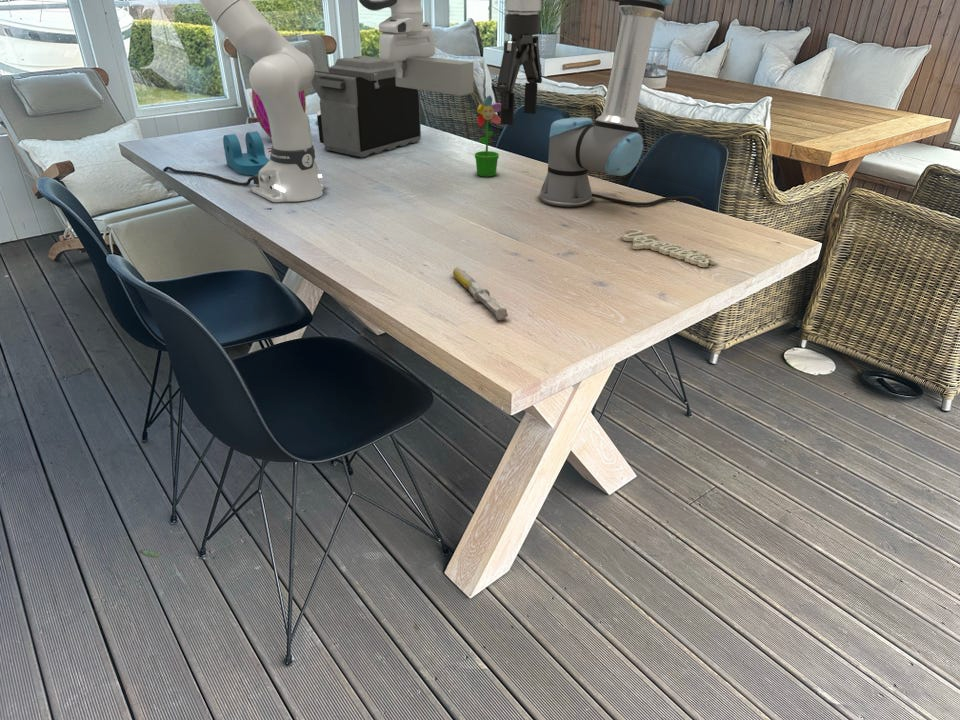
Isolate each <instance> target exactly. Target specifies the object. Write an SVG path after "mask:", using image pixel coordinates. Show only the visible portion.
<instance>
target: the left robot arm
mask: <svg viewBox="0 0 960 720" xmlns="http://www.w3.org/2000/svg"><path fill="white" fill-rule="evenodd" d="M199 2H200V3H201V6H202V7H203V8H204V10H205V12H206V13H207V14H208V16H209V17H210V19H212V21H213V22H214V23H215V25H216V26H217V27H218V28H219V30H220V31H221V32H222V33H223V35H224V36H225V38H227V39H228V41H229V42H230V43H231V44H232V45H233V47H234V48H235V49H236V51H238V52H239V53H241V54H242V55H244V56H246V57H247V58H249V59H251V60H252V61H253V62H255V63H254V64H253V65H252V67H251V68H250V70H249V74H248V76H249V77H248V78H249V79H248V80H249V83H250V86H251V89H252V88H253V90H254V91H255V93H256V94H257V95H258V96H259V97H260V98H261V101H262V103H263V105H264V108H265V110H266V113H267V116H268V120H269V125H270V131H271V137H270V138H271V143H272V147H268V148H267V150H268V151H267V153H270V157H269V160H270V161H269V162H268V163H267V164H266V165H265V166H264V167H263V168H262V169H261V170H260V171H259V174H257V175H252V176H250V177H248V178H247V181H246V182H239V181H236V180H233V179H230V178H225V177H222V176H220V175H216V174H213V173H207V172H202V171H194V170H180V169H176V168H173V167H171V166H165V167H164V168H163V170H162V171H163V172H167V171H168V170H169V171H171V172H173V173H176V174H186V175H197V176H204V177H208V178H209V177H210V178H212V179H217V180H219V181H222V182H226V183H230V184H233V185H237V186H243V187H245V186H249V185H250V184H251V182H252V181H253V184H254V186H252V187H251V192H252V193H253V194H256V195H258V196H260V197H262V198H264V199H266V200H268V201H271V202H273V203H283V202H305V201H311V200H314V199H317V198H320V197H322V196H323V194H324V191H323V190H324V189H325V186H324V184H322V181H321V179H322V178H323V175H322V174H321V173H320V172H319V167H318V163H317V162H316V161H315V159H316V154H315V153H316V151H315V147H314V145H313V142H312V141H313V140H312V132H311V122H310V117H309V116H308V114H307V113H306V111H305V112H304V110H303V108H302V105H301V102H300V99H299V92H300V91H303V90H304V91H305V90H306V89H307V88H308V87H309V86H310V85H311V84H312V80H313V78H314V74H315V71H316V69H315V65H314V62H313V61H312V59H311V58H310V57H309V56H308V55H307V54H306V53H304V52H302V51H301V50H299V49H298V48H296V47H295V46H294V45H293V44H291V42H290V41H288V40H287V39H286V38H285V37H284V36H283V35H282V34H280V33H279V32H278V30H276V29H275V28H274V27H273V26H272V25H271V24H270V22H268V21H267V19H266V18H265V17H264V16H263V14H262V13H261V12H260V10H258V8H257V7H256V5H254V4H253V2H252V1H251V0H199ZM358 2H359V3H360V4H361V6H363V8H365V9H367V10H369V11H374V12H377V11H381V10H384V9H390V15H391V16H389V17H387V18H386V19H385V20H383V21H382V22H379V24H378V31H379V32H380V35H379V38H378V48H379V58H381V60H382V61H383V62H389V63H391V62H393V64H394V67H395V69H396V71H397V77H398V78H404V77H405V71H403V70H402V67H401V65H402V61H405V60H406V58H411V57H418V56H423V57H432V58H433V57H434V56H435V53H436V43H435V35H434V33H433V27H432V25H431V24H430V22H428V21H424V14H423V13H424V11H423V7H422V0H358Z"/></svg>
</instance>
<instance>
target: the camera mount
mask: <svg viewBox="0 0 960 720" xmlns="http://www.w3.org/2000/svg"><path fill="white" fill-rule="evenodd" d="M222 140H223V141H222V143H223V149H224V150H223V151H224V156H225V161H226V165H227V166H228V167H230V168H231V169H232V170H234V171H236V172H237V173H238V174H239V175H244V176H254V175H257V174H259V171H260V170H261V169H262V168H263V167H264V166H265V165H266V164H267V163H268V162H269V161H270V160H271V159H270V158H268V157H267V156H266V153H265V145H264V141H263V139H262V136H261V134H260V132H258V131H247V132H246V133H245V146H246V152H243V151H242V150H243V149H242V146H241V142H240V140H239V138H238V135H236V134H235V133H231V134H224V135H223V138H222Z"/></svg>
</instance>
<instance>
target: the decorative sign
mask: <svg viewBox="0 0 960 720" xmlns="http://www.w3.org/2000/svg"><path fill="white" fill-rule="evenodd" d="M622 240H623V241H624V242H625V241H626V242H632V249H633V250H643V249H646V250H647V249H648V250H649V249H650V250H651V251H655V252H658V253H660V254H663V255H665V256H667V255H668V256H669V257H672V258H675V259H676V260H677V259H678V260H684V262H686V263H690V264H692V265H697V266H698V267H700V268H708V267H709V264H710V265H711V266H713V265H714V264H715V259H713V258H710V257H708V255H709V253H708V252H705V251H704V252H698V249H697V248H690V249H689V248H688V249H683V248H682V245H679V244H678V243H672V242H669V241H667V242H660V241H659V240H656V239H655V234H654V233H647V234H646V233H645V234H643V230H640V229H636V228H629V230H628V233H625V234H623V237H622Z"/></svg>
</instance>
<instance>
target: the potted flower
mask: <svg viewBox="0 0 960 720" xmlns="http://www.w3.org/2000/svg"><path fill="white" fill-rule="evenodd" d="M498 112H501V102H495V103H493V97H492V96H491V95H490V94H488V96H486V97H485V98H484V100H483V104H481V103H480V104H478V106H477V109H476V113H477V114H479V115H478V116H477V118H476V122H477V124H478V126H479V127H482V126H483V125H484V124H485V137H480V138H479V139H478V143H480V144H484V145H485V150H482V151H477V152H474V158H475V164H476V174H477V175H478V176H480V177H486V178H487V177H488V178H489V177H494V176H496V174H497V168H498V160H499V157H500V153H498V152H496V151H492V150H489V138H490V137H492V136H493V134H494V132H493V131H489V121H490V122H491V123H492V124H495V125H500V124H501V116H500V115H498V114H497V113H498ZM501 125H502V124H501Z"/></svg>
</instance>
